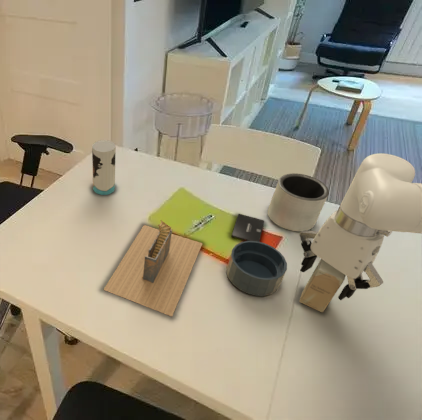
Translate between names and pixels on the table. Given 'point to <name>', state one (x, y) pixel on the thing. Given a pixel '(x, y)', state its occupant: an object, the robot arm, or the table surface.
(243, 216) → the solid state drive
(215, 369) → the table surface
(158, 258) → the architectural model on board
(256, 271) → the round storage tub
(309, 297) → the box
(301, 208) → the planter
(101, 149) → the white patterned canister
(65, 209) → the table surface
